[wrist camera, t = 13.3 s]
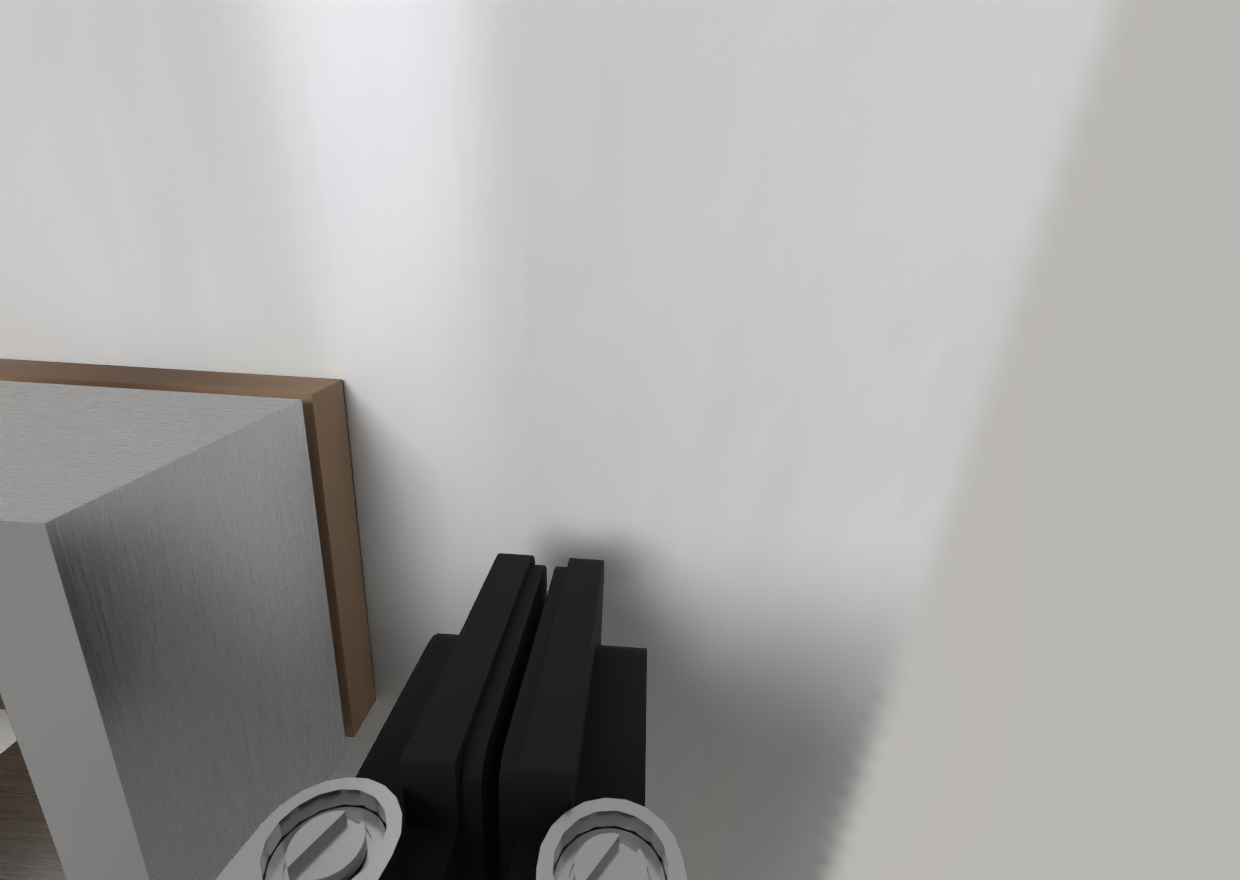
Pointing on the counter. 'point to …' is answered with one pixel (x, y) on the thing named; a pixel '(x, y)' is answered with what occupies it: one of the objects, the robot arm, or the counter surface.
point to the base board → (327, 478)
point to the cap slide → (156, 629)
